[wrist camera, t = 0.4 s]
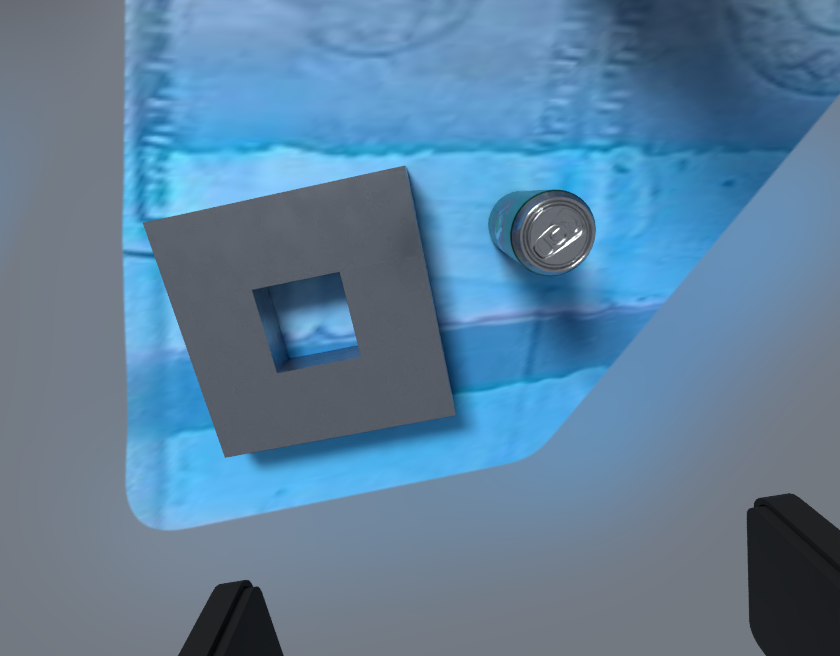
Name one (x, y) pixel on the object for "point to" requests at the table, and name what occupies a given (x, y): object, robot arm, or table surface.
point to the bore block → (258, 327)
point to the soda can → (543, 230)
